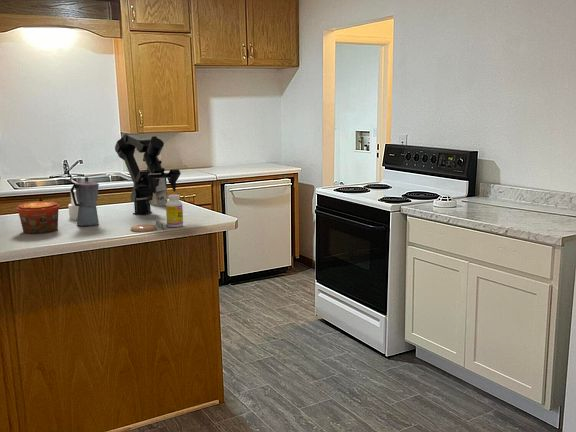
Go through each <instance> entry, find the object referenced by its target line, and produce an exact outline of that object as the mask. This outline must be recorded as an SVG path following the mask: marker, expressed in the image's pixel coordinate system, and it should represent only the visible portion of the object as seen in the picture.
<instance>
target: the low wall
mask: <svg viewBox="0 0 576 432" xmlns="http://www.w3.org/2000/svg"><path fill="white" fill-rule="evenodd" d="M155 225H156V228H159V229H160V230H161V231H163V230H164V223H163V222H162V221H161V220H159V219H156V218H155Z"/></svg>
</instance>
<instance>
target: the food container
mask: <svg viewBox="0 0 576 432" xmlns="http://www.w3.org/2000/svg"><path fill="white" fill-rule="evenodd" d="M59 208H61V205H60V204H59V203H58V202H56V201H35V202H32V201H31V202H25V203H22V204H19V205H18V206H17V207H16V209H15V210H16V211H18V216H19V219H20V220H19V221H20V224H21V227H22V232H23V233H25V234H29V235H39V234H47V233H52V232H55V231H57V230H58V229H59Z"/></svg>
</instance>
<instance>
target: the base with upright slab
mask: <svg viewBox="0 0 576 432" xmlns="http://www.w3.org/2000/svg"><path fill="white" fill-rule="evenodd" d="M73 191H74V193H75V199H76V202H77V197H76V190H75V189H74V190H73ZM77 204H78V202H77ZM78 208H79V206H75V204H74V200H73V197H72V193H71V189H70V203H69V204H68V216H69V217H68V218H69V219H70V220H77V217H78Z"/></svg>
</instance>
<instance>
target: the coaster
mask: <svg viewBox="0 0 576 432" xmlns="http://www.w3.org/2000/svg"><path fill="white" fill-rule="evenodd" d="M156 229H157V226H156V224H152V223H148V224H147V223H144V224H143V223H141V224H135V225H131V227H130V231H131V232H134V233H135V232H137V233H143V232H144V233H145V232H147V233H148V232H151V231H152V232H153V231H155V230H156Z"/></svg>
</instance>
